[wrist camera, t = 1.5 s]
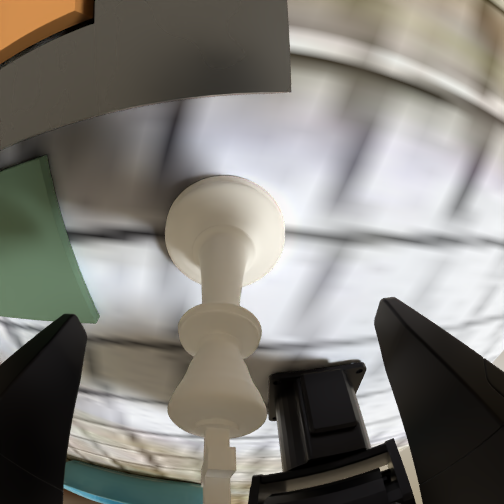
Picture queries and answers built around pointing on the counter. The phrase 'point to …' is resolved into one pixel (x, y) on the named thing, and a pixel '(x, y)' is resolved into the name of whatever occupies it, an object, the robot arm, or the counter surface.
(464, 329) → the counter surface
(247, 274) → the chess piece
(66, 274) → the mat
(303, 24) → the counter surface
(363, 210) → the counter surface
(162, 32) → the breaker guard
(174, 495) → the casserole dish
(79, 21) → the button
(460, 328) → the counter surface
